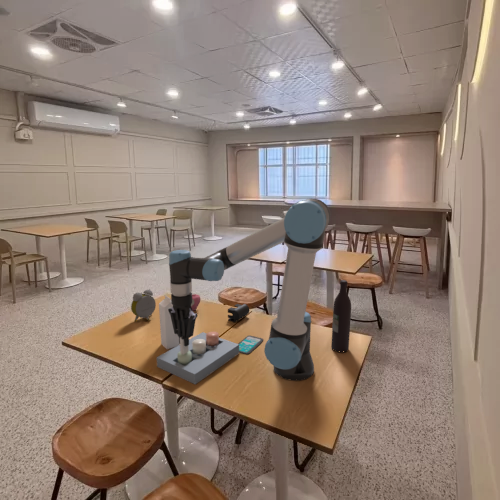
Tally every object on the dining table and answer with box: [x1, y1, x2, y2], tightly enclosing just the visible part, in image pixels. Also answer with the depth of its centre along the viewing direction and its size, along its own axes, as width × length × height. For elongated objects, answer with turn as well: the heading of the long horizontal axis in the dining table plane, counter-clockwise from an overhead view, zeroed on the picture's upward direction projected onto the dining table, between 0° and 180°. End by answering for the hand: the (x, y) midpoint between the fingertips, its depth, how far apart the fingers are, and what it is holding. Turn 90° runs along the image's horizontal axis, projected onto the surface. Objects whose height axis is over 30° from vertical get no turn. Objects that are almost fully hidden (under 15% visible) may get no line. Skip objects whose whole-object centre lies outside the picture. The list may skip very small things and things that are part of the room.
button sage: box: [177, 351, 192, 366], centre depth 127 cm, size 5×5×4 cm
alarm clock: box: [130, 288, 157, 322], centre depth 171 cm, size 12×7×15 cm, turn 141°
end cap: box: [227, 303, 250, 323], centre depth 173 cm, size 10×7×7 cm
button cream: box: [192, 339, 206, 355], centre depth 133 cm, size 5×5×4 cm
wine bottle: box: [330, 279, 352, 353], centre depth 139 cm, size 7×7×30 cm
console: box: [156, 331, 240, 385], centre depth 134 cm, size 20×26×4 cm
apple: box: [191, 293, 201, 312], centre depth 184 cm, size 10×9×10 cm
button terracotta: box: [206, 331, 220, 346], centre depth 139 cm, size 5×5×4 cm
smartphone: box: [237, 335, 264, 356], centre depth 146 cm, size 9×1×15 cm
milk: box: [158, 295, 180, 350], centre depth 144 cm, size 6×6×22 cm
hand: (184, 352), depth 126 cm, fingers closed
